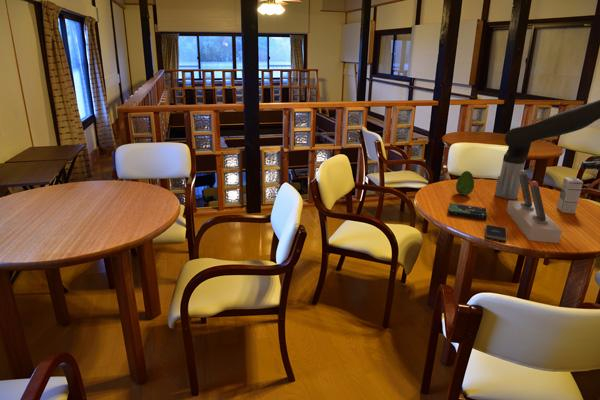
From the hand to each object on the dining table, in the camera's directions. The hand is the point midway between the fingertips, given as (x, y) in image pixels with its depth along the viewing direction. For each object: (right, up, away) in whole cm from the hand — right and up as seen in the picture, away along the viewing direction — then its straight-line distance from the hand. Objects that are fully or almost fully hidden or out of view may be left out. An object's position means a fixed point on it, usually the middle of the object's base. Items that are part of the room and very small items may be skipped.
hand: (582, 165), depth 145 cm
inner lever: (-7, -14, +22) cm, 27 cm away
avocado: (-22, -10, +52) cm, 57 cm away
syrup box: (+17, -17, +35) cm, 42 cm away
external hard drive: (-27, -26, +8) cm, 39 cm away
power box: (-9, -23, +17) cm, 30 cm away
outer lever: (-10, -19, +8) cm, 22 cm away
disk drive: (-30, -19, +28) cm, 45 cm away
